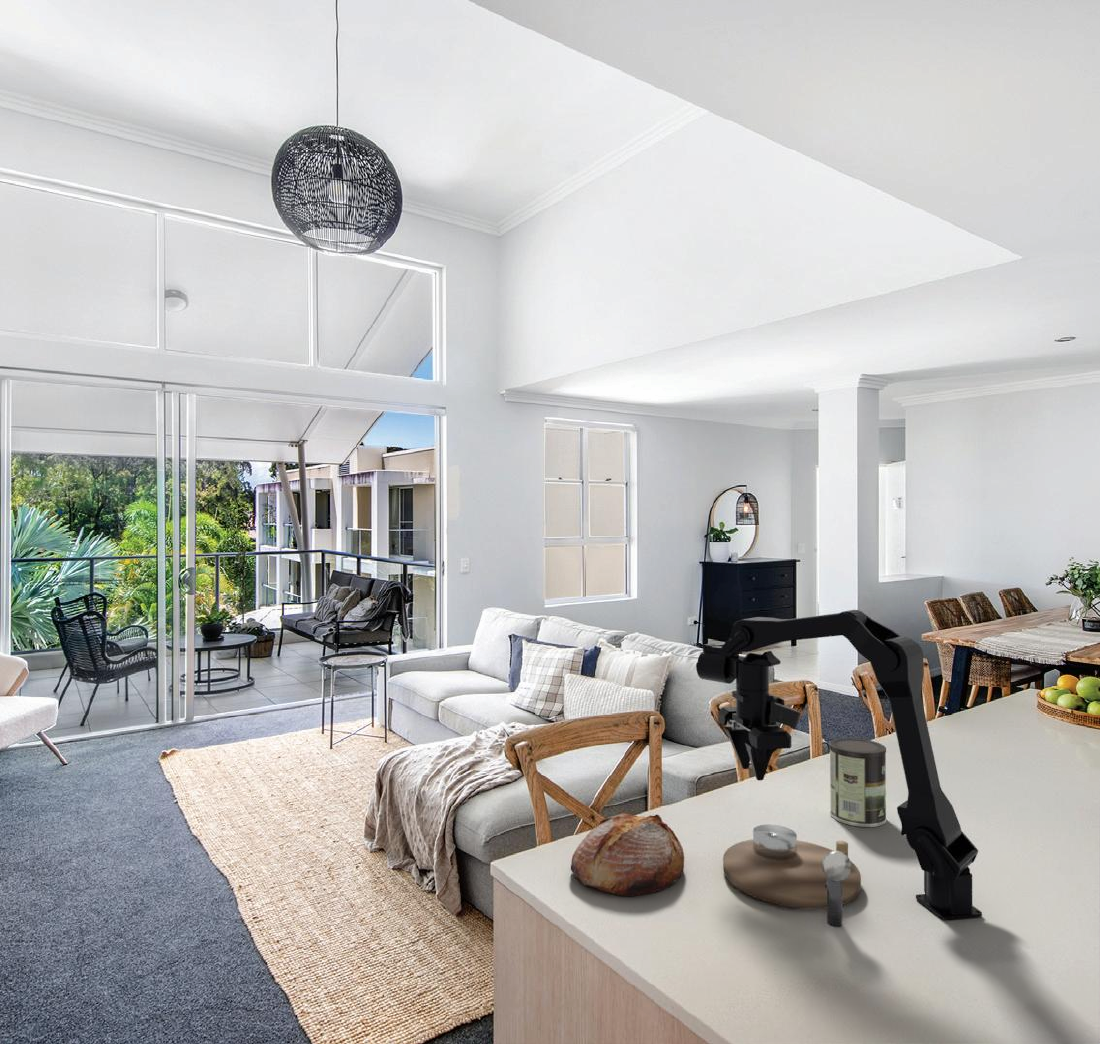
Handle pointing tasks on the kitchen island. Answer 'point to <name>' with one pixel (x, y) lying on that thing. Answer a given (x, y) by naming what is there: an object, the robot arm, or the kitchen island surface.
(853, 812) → the coffee can
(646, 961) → the kitchen island surface
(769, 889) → the disc
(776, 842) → the cover
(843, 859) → the ice cream scoop
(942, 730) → the kitchen island surface
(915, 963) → the kitchen island surface
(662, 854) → the bread
